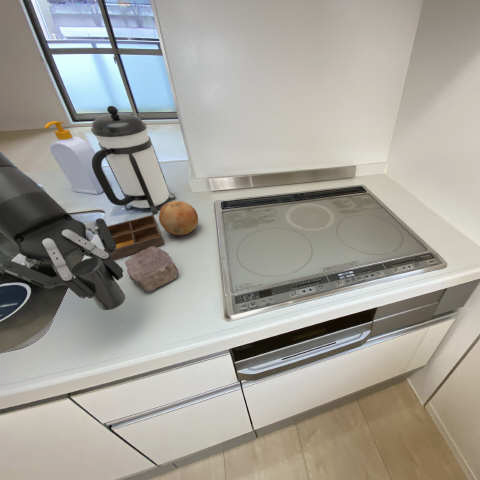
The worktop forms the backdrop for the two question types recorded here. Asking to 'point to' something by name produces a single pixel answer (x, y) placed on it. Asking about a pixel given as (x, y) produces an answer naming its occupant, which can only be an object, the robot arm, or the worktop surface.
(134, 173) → the coffee press
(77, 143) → the soap bottle
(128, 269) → the stone
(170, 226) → the onion
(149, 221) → the brown compartment tray
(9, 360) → the worktop surface
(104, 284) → the dark grey cylinder
